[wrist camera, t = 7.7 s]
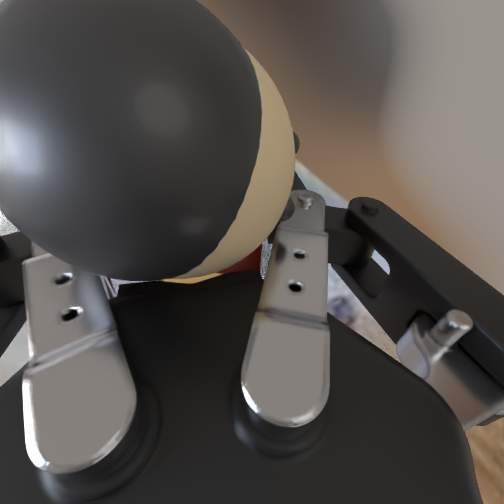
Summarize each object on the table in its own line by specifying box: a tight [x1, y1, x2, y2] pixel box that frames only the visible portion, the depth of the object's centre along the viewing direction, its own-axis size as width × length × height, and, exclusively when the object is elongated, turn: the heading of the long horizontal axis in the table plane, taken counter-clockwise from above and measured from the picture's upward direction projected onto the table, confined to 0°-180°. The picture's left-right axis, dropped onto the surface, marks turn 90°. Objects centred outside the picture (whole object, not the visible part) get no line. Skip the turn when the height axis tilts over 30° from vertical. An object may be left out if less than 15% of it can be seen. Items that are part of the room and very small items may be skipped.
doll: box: [0, 0, 300, 284], centre depth 10 cm, size 7×7×14 cm
